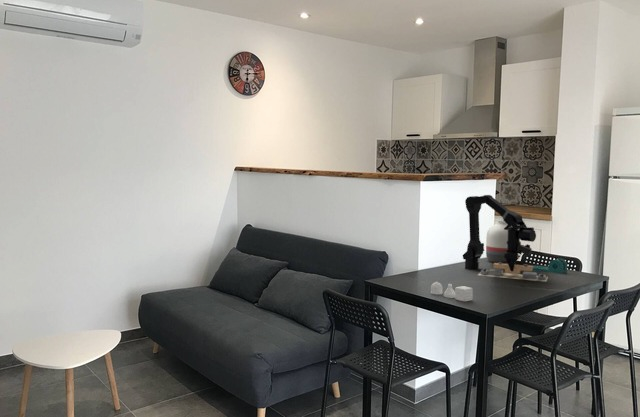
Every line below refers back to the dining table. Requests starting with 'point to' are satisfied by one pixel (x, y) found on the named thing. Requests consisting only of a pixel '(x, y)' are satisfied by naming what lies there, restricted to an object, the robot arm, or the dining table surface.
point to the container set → (453, 292)
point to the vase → (497, 242)
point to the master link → (516, 268)
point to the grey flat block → (533, 275)
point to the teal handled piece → (553, 267)
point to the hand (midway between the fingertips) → (512, 270)
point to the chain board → (513, 276)
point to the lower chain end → (492, 272)
